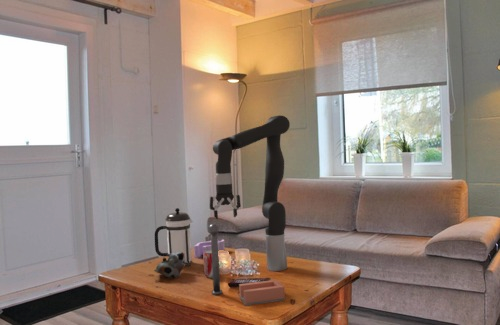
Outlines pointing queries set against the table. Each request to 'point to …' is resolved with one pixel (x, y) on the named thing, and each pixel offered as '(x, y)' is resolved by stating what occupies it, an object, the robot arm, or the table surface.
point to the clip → (206, 247)
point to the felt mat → (260, 301)
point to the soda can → (208, 264)
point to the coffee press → (176, 235)
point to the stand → (215, 259)
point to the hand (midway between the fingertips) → (225, 217)
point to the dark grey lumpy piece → (172, 265)
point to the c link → (261, 291)
